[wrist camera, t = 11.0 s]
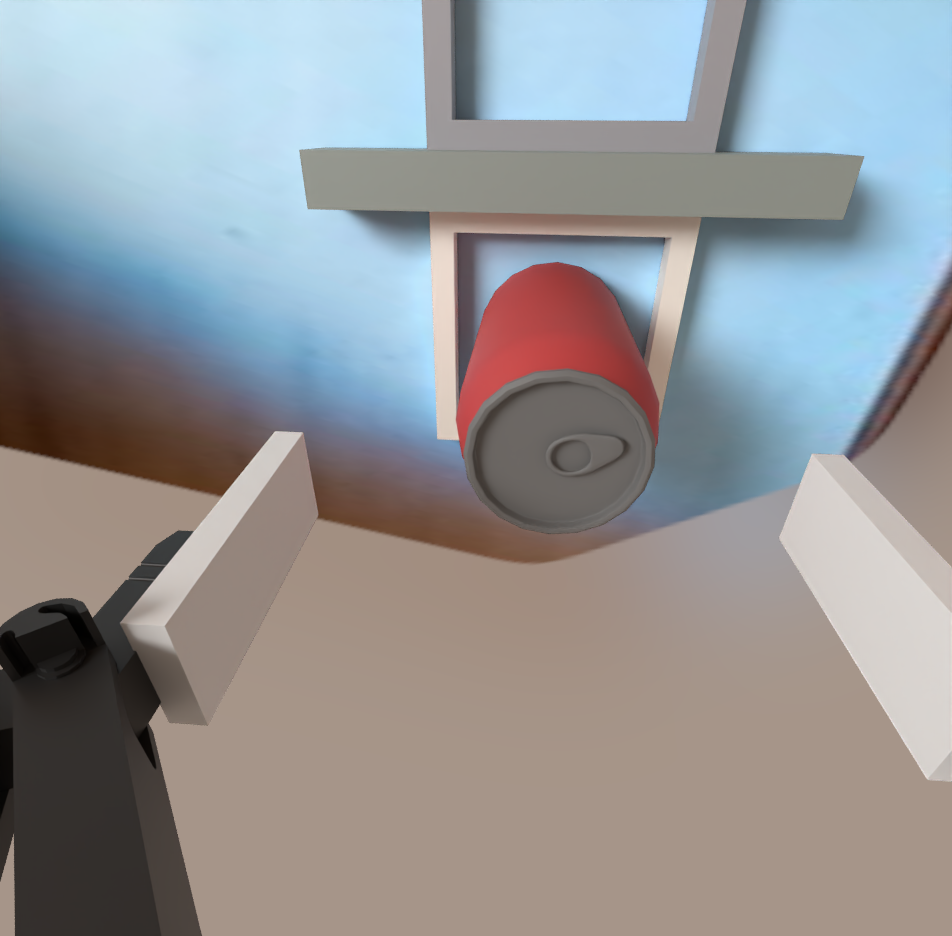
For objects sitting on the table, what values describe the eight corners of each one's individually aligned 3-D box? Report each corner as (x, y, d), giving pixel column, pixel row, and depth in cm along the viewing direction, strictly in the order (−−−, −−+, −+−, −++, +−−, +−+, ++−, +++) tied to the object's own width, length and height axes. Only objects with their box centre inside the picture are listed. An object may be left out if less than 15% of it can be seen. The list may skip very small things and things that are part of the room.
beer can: (630, 377, 27) (686, 529, 17) (502, 407, 28) (481, 563, 18) (608, 240, 24) (660, 324, 14) (464, 282, 25) (414, 386, 15)
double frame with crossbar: (359, 424, 30) (342, 451, 27) (276, -262, 17) (230, -331, 14) (738, 443, 28) (758, 474, 26) (960, -297, 15) (1043, -381, 13)
